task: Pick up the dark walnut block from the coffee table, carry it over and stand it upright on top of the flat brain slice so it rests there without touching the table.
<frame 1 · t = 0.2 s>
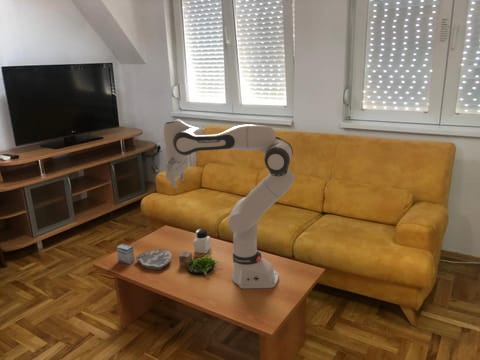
hand: (178, 184, 194), 47 cm above the table, tool pointing down, fingers open, 8 cm apart
walnut block: (186, 264, 217), on the table
brain slice: (155, 262, 220), on the table
medicine bottle: (202, 250, 230), on the table
medicine box: (126, 261, 222), on the table
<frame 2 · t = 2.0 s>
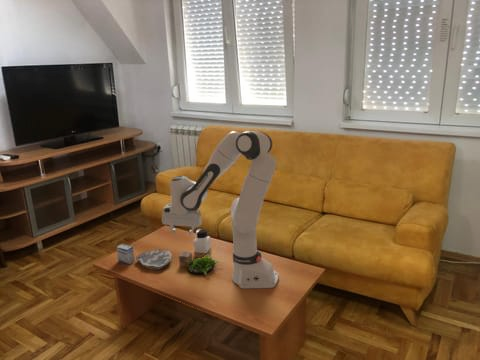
hand: (182, 232, 211), 18 cm above the table, tool pointing down, fingers open, 8 cm apart
nothing on the table moved.
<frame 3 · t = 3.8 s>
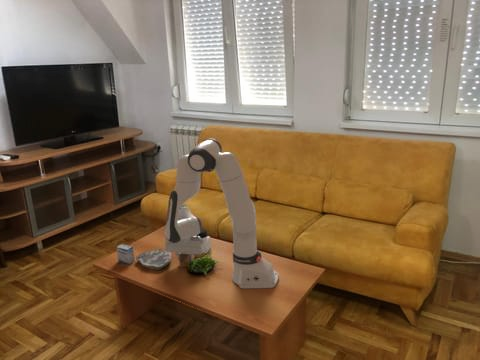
hand: (185, 259, 216), 3 cm above the table, tool pointing down, fingers closed on walnut block, 5 cm apart
walnut block: (186, 264, 217), on the table, touching gripper
everything else where it was.
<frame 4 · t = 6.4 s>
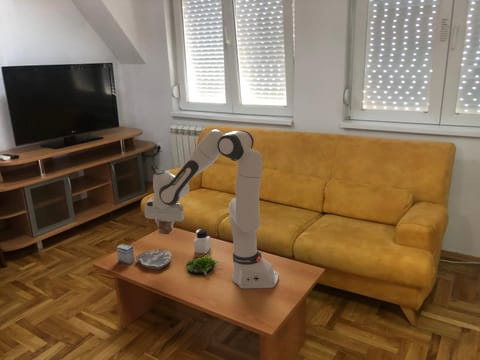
hand: (165, 227, 213), 20 cm above the table, tool pointing down, fingers closed on walnut block, 5 cm apart
walnut block: (165, 231, 213), point 18 cm above the table, touching gripper
everything else where it was.
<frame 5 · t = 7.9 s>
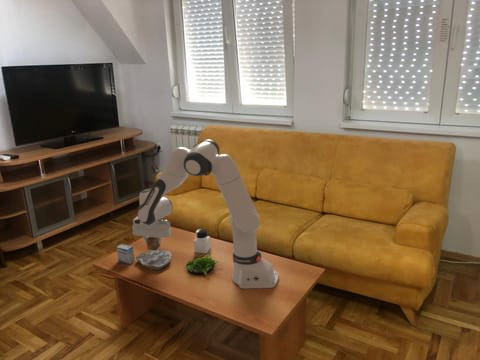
hand: (153, 243, 217), 11 cm above the table, tool pointing down, fingers closed on walnut block, 5 cm apart
walnut block: (154, 247, 218), point 8 cm above the table, touching gripper
everything else where it was.
when the fingers open (8 cm above the table, at t = 8.9 s): walnut block drops 3 cm, resting on brain slice.
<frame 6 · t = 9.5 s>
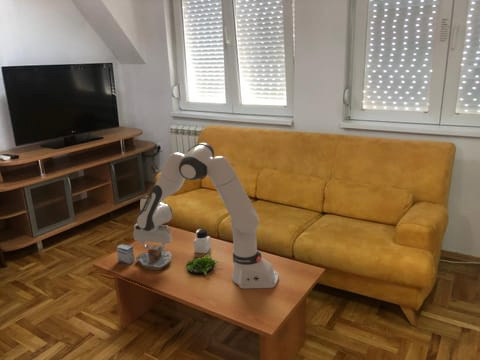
hand: (154, 248, 218), 8 cm above the table, tool pointing down, fingers open, 8 cm apart
walnut block: (155, 257, 220), point 2 cm above the table, touching brain slice
brain slice: (156, 262, 221), on the table, touching walnut block
everything else where it was.
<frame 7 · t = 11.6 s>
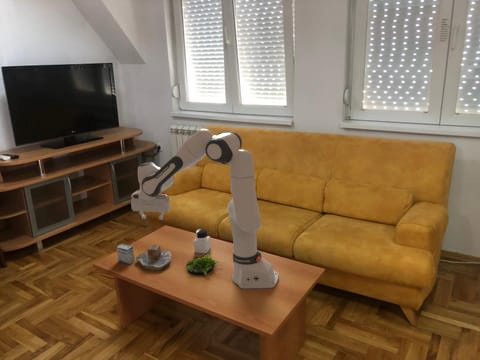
hand: (152, 218, 213), 24 cm above the table, tool pointing down, fingers open, 8 cm apart
nothing on the table moved.
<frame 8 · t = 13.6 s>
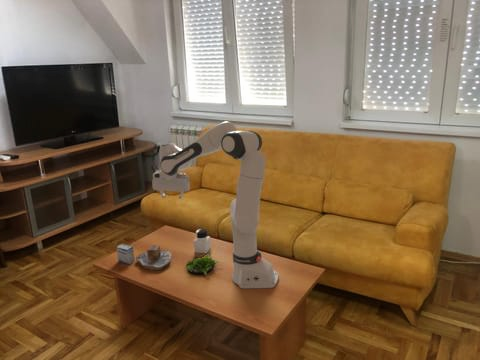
hand: (172, 198, 222), 31 cm above the table, tool pointing down, fingers open, 8 cm apart
nothing on the table moved.
at the end: walnut block inside the target area on the brain slice (0.4 cm from its centre), point 3.2 cm above the brain slice's base; walnut block tilted 0°; walnut block touching brain slice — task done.
